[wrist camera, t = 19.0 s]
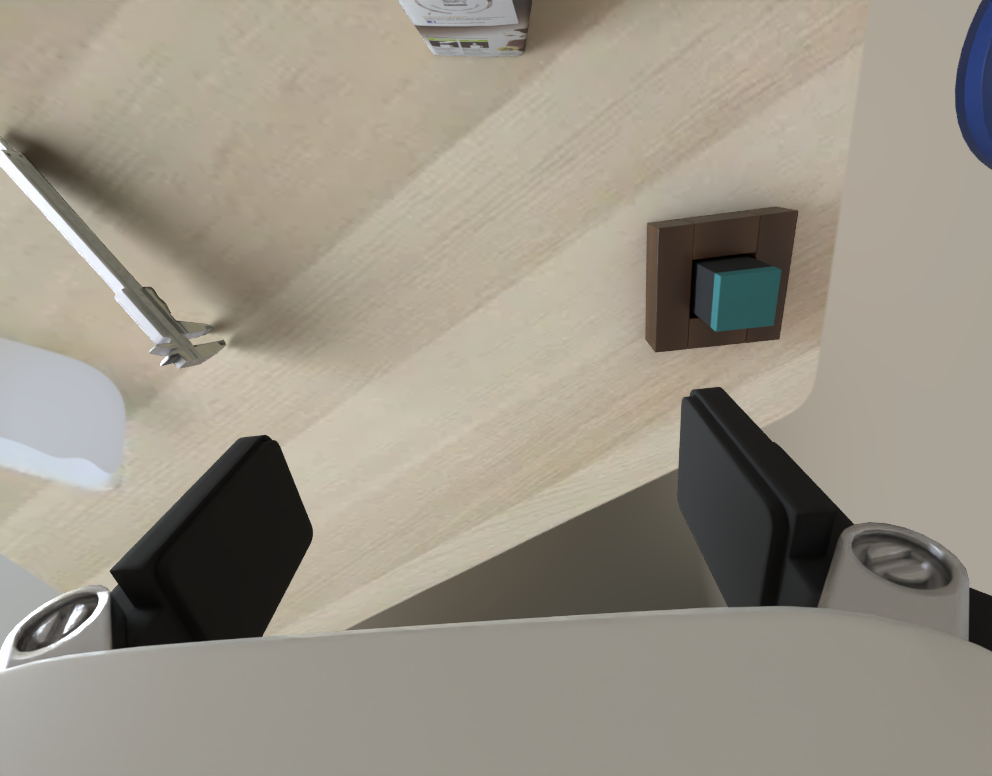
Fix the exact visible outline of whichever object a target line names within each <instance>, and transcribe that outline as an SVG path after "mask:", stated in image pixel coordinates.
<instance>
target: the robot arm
mask: <svg viewBox="0 0 992 776" xmlns="http://www.w3.org/2000/svg"><path fill="white" fill-rule="evenodd" d="M678 471H679V473H678V492H677V495H678V503H679V507H680V510H681V512H682V514H683V516H684V518H685V520H686V522H687V524H688V526H689V529H690V531H691V533H692V535H693V537H694V539H695V541H696V542H697V545H698V547H699V549H700V551H701V553H702V555H703V557H704V559H705V561H706V563H707V565H708V567H709V569H710V571H711V573H712V575H713V577H714V579H715V581H716V583H717V585H718V587H719V590H720V592H721V594H722V596H723V598H724V600H725V602H726V604H727V606H728V607H723V608H696V609H679V610H661V611H642V612H623V613H607V614H592V615H575V616H559V617H544V618H529V619H512V620H496V621H481V622H466V623H451V624H437V625H422V626H408V627H393V628H378V629H366V630H365V629H364V630H351V631H335V632H322V633H308V634H295V635H282V636H268V637H262V636H263V634H264V632H265V630H266V628H267V626H268V624H269V622H270V621H271V619H272V617H273V615H274V613H275V611H276V609H277V607H278V605H279V603H280V601H281V599H282V597H283V596H284V594H285V592H286V590H287V588H288V586H289V584H290V582H291V580H292V578H293V576H294V574H295V572H296V571H297V569H298V567H299V565H300V563H301V561H302V559H303V557H304V555H305V553H306V551H307V549H308V547H309V546H310V544H311V541H312V537H313V529H312V525H311V523H310V520H309V518H308V515H307V513H306V510H305V508H304V505H303V503H302V500H301V498H300V495H299V493H298V490H297V488H296V485H295V483H294V480H293V478H292V475H291V473H290V470H289V468H288V465H287V463H286V460H285V458H284V455H283V453H282V450H281V448H280V446H279V444H278V442H277V441H275V440H272V439H271V438H270V437H269V436H267V435H261V436H251V437H242V438H239V439H238V440H237V441H236V442H235V443H234V444H233V445H232V446H231V447H230V448H229V449H228V450H227V451H226V452H225V453H224V454H223V455H222V456H221V457H220V458H219V459H218V460H217V461H216V462H215V463H214V464H213V465H212V466H211V467H210V468H209V469H208V470H207V472H206V473H205V474H204V475H203V476H202V477H201V478H200V479H199V480H198V481H197V482H196V483H195V484H194V485H193V486H192V487H191V488H190V489H189V490H188V491H187V492H186V493H185V494H184V495H183V496H182V497H181V498H180V499H179V500H178V501H177V502H176V503H175V504H174V505H173V506H172V507H171V508H170V509H169V510H168V511H167V512H166V513H165V515H164V516H163V517H162V518H161V519H160V520H159V521H158V522H157V523H156V524H155V525H154V526H153V527H152V528H151V529H150V530H149V531H148V532H147V533H146V534H145V535H144V536H143V537H142V538H141V539H140V540H139V541H138V542H137V543H136V544H135V545H134V546H133V547H132V548H131V549H130V550H129V551H128V552H127V553H126V554H125V555H124V556H123V558H122V559H121V560H120V561H119V562H118V563H117V564H116V565H115V566H114V567H113V568H112V569H111V570H110V573H111V574H112V575H113V577H114V578H115V580H116V581H117V583H118V585H117V586H116V587H115V588H114V589H113V590H112V592H110V591H109V589H108V588H106V587H104V586H102V585H89V586H85V587H81V588H77V589H74V590H72V591H69V592H67V593H64V594H62V595H60V596H58V597H56V598H54V599H53V600H51V601H49V602H47V603H46V604H44V605H42V606H41V607H40V608H38V609H37V610H36V611H34V612H32V613H31V614H30V615H28V616H27V617H26V618H25V619H24V620H23V621H22V622H21V623H19V624H18V625H17V626H16V627H15V629H14V630H13V631H12V632H11V633H10V634H9V636H8V637H7V638H6V641H5V643H4V645H3V647H2V649H1V653H0V776H992V596H990V595H988V594H985V593H983V592H980V591H977V590H975V589H972V588H969V578H968V574H967V571H966V568H965V567H964V566H963V564H962V563H961V562H960V560H959V559H958V558H957V557H956V556H955V555H954V554H952V553H951V552H950V551H949V550H948V549H946V548H945V547H944V546H942V545H941V544H940V543H938V542H936V541H934V540H932V539H930V538H929V537H927V536H925V535H923V534H920V533H918V532H915V531H912V530H910V529H907V528H904V527H900V526H895V525H891V524H885V523H872V522H868V523H861V524H853V523H852V522H851V521H850V519H848V518H847V516H846V515H845V514H844V513H843V512H842V511H841V510H840V509H839V508H838V507H837V506H836V505H835V504H834V503H833V502H832V501H831V499H829V497H828V496H827V495H826V494H825V493H824V492H823V491H822V490H821V489H820V488H819V487H818V486H817V485H816V484H815V483H814V482H813V481H812V479H811V478H810V477H809V476H808V475H807V474H806V473H805V472H804V471H803V470H802V469H801V468H800V467H799V466H798V465H797V464H796V463H795V462H794V461H793V460H792V458H790V456H789V455H788V454H787V453H786V452H785V451H784V450H783V449H782V448H781V447H780V446H779V445H777V444H776V443H775V442H772V441H771V440H770V439H769V438H768V437H767V435H766V434H765V433H763V431H762V430H761V429H760V428H759V427H758V426H757V425H756V424H755V423H754V422H753V421H752V419H751V418H750V417H749V416H748V415H747V414H746V413H745V412H744V411H743V410H742V409H741V408H740V407H739V406H738V405H737V404H736V402H735V401H734V400H733V399H732V398H731V397H730V396H729V395H728V394H727V393H726V392H725V391H724V390H723V389H722V388H721V387H714V388H705V389H695V390H692V391H691V393H690V397H684V398H683V399H682V405H681V426H680V448H679V470H678Z"/></svg>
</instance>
